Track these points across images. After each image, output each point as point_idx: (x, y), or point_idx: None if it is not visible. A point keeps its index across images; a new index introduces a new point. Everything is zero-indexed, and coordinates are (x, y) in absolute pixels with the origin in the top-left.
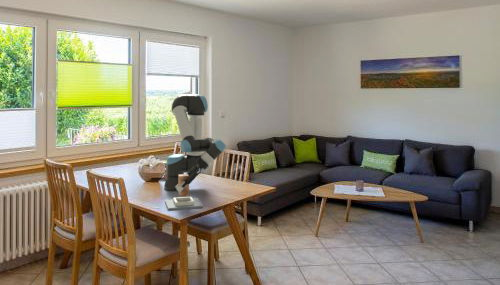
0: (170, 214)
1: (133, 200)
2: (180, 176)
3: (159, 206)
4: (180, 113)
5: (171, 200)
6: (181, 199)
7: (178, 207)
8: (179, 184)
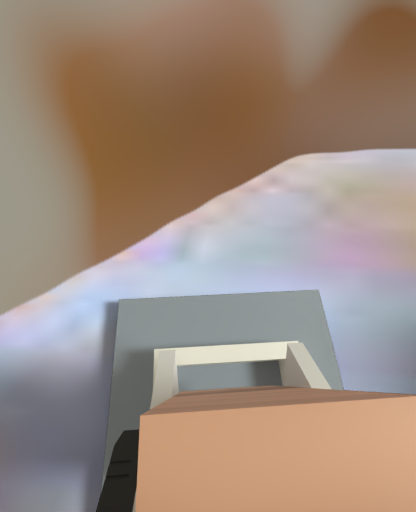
0: (33, 312)
1: (342, 153)
2: (141, 451)
3: (217, 259)
4: None
5: (303, 332)
6: None
7: (112, 371)
8: (184, 397)
